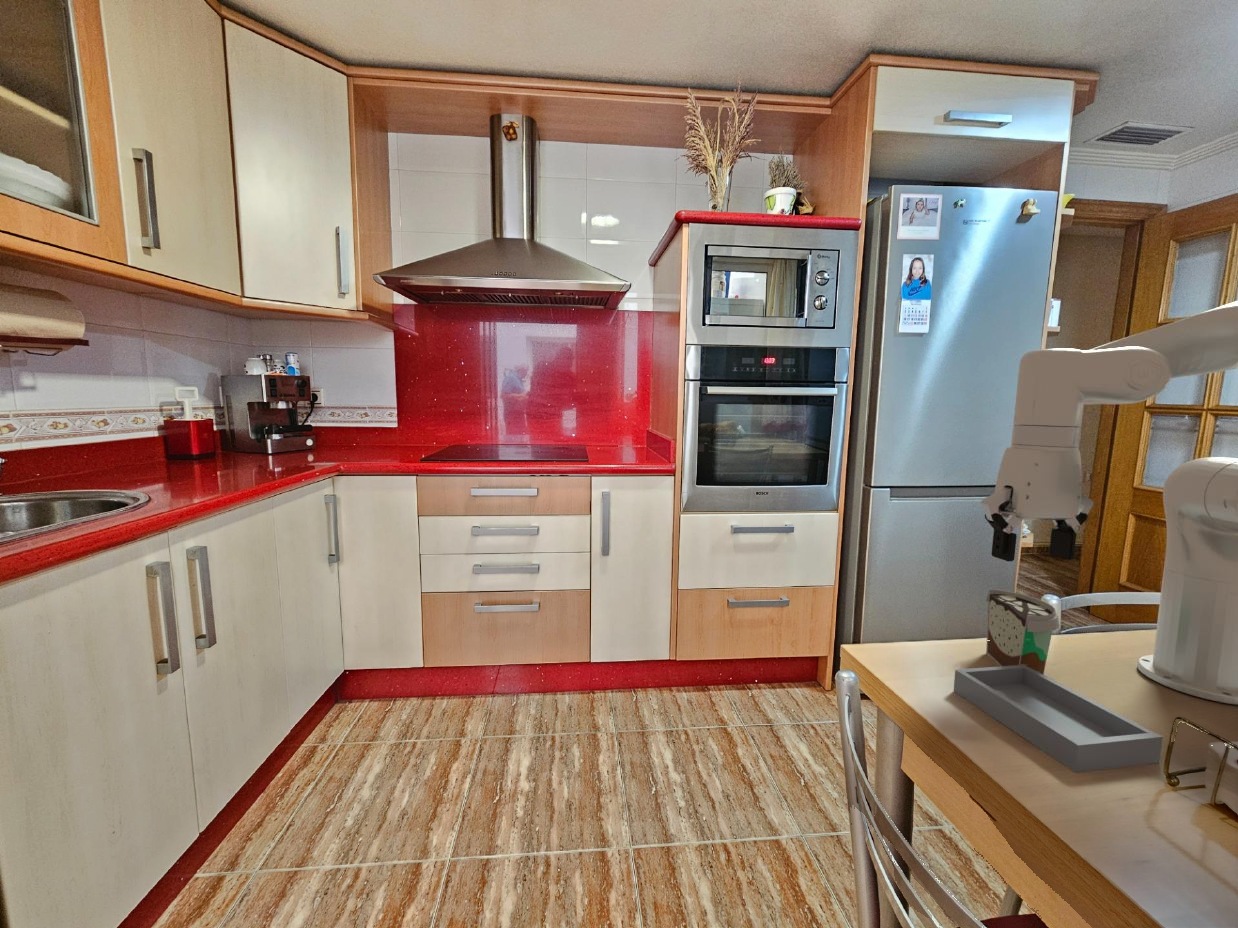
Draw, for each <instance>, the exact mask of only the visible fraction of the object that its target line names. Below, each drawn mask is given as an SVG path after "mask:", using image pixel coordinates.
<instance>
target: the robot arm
mask: <svg viewBox="0 0 1238 928" xmlns="http://www.w3.org/2000/svg"><path fill="white" fill-rule="evenodd" d="M1235 369H1238V300H1236V301H1232V302H1230V303H1227V304H1223V305H1221V306H1217V307H1215V308H1212V309H1209V310H1206V311H1202V312H1199V313H1196V314H1192V315H1190V316H1187V317H1185V318H1182V319H1179V320H1176V321H1173V322H1170V323H1167V324H1163V325H1162V326H1161V325H1160V326H1158V327H1153V328H1152V329H1148V330H1145V331H1142V332H1139V333H1135V334H1133V335H1128V336H1126V337H1122V338H1120V339H1116V340H1114V341H1110V342H1107V343H1105V344H1102V345H1099V346H1096V347H1093V348H1090V349H1087V350H1082V349H1077V348H1063V347H1061V348H1059V347H1057V348H1042V349H1034V350H1031V351H1028V352H1026V353H1024V354H1023V355H1022V356H1021V358H1020V361H1019V366H1018V375H1017V385H1016V395H1015V405H1014V416H1013V424H1012V425H1013V426H1012V434H1011V443H1010V444H1011V445H1010V446H1009V447H1006V448H1005V450H1004V452H1003V455H1002V458H1001V462H1000V465H999V468H998V472H997V477H996V481H995V482H996V484H995V488H994V493H991V494H990V495H989V496H987V497H985V498H983V499H982V500H981V502H980V504H981V508H982V511H983V513H984V519H985V520H986V521H987V522H988V524H989V528H990V529H991V530H993V535H992V543H991V544H992V545H991V556H992V557H994V558H995V559H996V558H997V559H999V560H1002V561H1006V562H1014V561H1015V557H1016V556H1015V554H1016V545H1017V538H1018V537H1017V533H1014V531H1015V529H1016V528H1017V527H1018V526H1019V524H1021V523H1022V521H1023V520H1024V521H1052V523H1053V524H1054V526H1055V527H1052V528H1051V533H1050V542H1049V550H1048V551H1049V552H1048V553H1049V555H1050V556H1053V557H1056V558H1058V559H1059V558H1060V559H1062V560H1066V561H1073V560H1074V557H1075V549H1076V541H1077V533H1080V532H1081V531H1082V525H1083V524H1084V523H1085V522H1086V521H1087V520H1088V518H1089V517H1088V515H1089V514H1090V511H1091V510H1092V508H1093V507H1094V503H1095V502H1094V501H1093V500H1092V499H1090V498H1089V497H1087V496H1086V495H1084V494H1083V493H1082V485H1083V484H1082V483H1083V482H1082V479H1083V476H1082V475H1083V474H1082V473H1083V472H1082V457H1081V451H1080V449H1079V448H1080V444H1081V443H1080V442H1081V438H1082V422H1083V416H1084V415H1083V414H1084V407H1085V405H1129V404H1130V405H1131V404H1137V403H1141V402H1145V401H1148V400H1150V399H1153V398H1155V397H1156V396H1157V395H1159V394H1161V393H1162V392H1163V391H1164V390H1165V389H1166V388H1167V386H1168V385H1169V383H1170V381H1171V379H1176V378H1183V377H1190V376H1198V375H1199V376H1200V375H1208V374H1214V373H1221V372H1227V371H1231V370H1235ZM1163 485H1164V486H1163V491H1162V502H1163V509H1164V515H1165V516H1164V517H1165V523H1166V547H1165V556H1164V557H1165V559H1164V564H1163V565H1164V566H1163V570H1162V571H1163V572H1162V581H1161V586H1160V587H1161V588H1160V597H1159V605H1158V614H1157V622H1156V623H1157V624H1156V633H1155V641H1154V649H1153V654H1149V655H1148V654H1147V655H1143V656H1140V657H1139V658H1138V659H1137V666H1136V667H1137V668H1138V670H1139V671H1140V672H1141V674H1143V675H1144V676H1146V677H1147V678H1149V679H1151V680H1153V681H1155V682H1156V683H1158V684H1161V685H1162V686H1165V687H1168V688H1170V689H1173V690H1175V691H1179V692H1180V693H1183V694H1187V695H1191V696H1195V697H1196V698H1197V697H1198V698H1200V699H1204V700H1210V701H1213V702H1216V703H1217V702H1218V703H1224V704H1229V705H1230V704H1231V705H1236V706H1238V458H1236V457H1228V456H1227V457H1226V456H1208V457H1200V458H1196V459H1191V460H1189V461H1185V463H1181V464H1180V465H1179V466H1177V467H1176V468H1175V469H1173V470H1172V471H1171V472H1170V474H1169V475H1168V476H1167V477H1166V480H1165V482H1164V484H1163ZM1007 519H1008V520H1007Z"/></svg>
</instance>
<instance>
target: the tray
mask: <svg viewBox="0 0 1238 928" xmlns="http://www.w3.org/2000/svg"><path fill="white" fill-rule="evenodd" d="M953 683H954V684H953V692H955V693H956V694H957V695H959V696H961V697H962V698H963V699H965V700H966V701H968V702H969V703H971V704H972V705H974V706H975V707H977V708H978V709H980V710H981V711H983V712H984V713H986V714H987V715H989V716H990V717H992V718H993V719H994V720H996V721H998V722H999V723H1001V724H1002V725H1004V726H1005V727H1007V728H1008V729H1010V730H1011V731H1013V732H1014V733H1016V735H1019V736H1020V737H1022V738H1024V739H1025V740H1026V741H1028V742H1029V743H1031V744H1032V745H1034V746H1035V747H1036V748H1038V749H1040V750H1041V751H1043V752H1044V753H1045V754H1047V755H1048V756H1050V757H1052V758H1053V759H1055V760H1056V761H1058V762H1059V763H1061V765H1064V767H1067V768H1068V769H1070V770H1071V771H1073V772H1074V773H1082V772H1083V773H1084V772H1092V771H1101V770H1102V771H1103V770H1109V769H1121V768H1127V767H1137V766H1138V767H1139V766H1146V765H1155V764H1160V763H1161V762H1160V761H1161V753H1162V752H1161V751H1162V744H1163V736H1162V735H1160V734H1158V733H1156V732H1154V731H1152V730H1151V729H1149V728H1147V727H1145V726H1143V725H1141V724H1139V723H1137V722H1135V721H1133V720H1131V719H1130V718H1128V717H1125V716H1123V715H1121V714H1119V713H1118V712H1116V711H1113V710H1112V709H1110V708H1108V707H1106V706H1104V705H1102V704H1100V703H1099V702H1097V701H1095V700H1093V699H1091V698H1089V697H1087V696H1085V695H1083V694H1082V693H1080V692H1077V691H1076V690H1073V689H1072V688H1070V687H1068V686H1066V685H1064V684H1062V683H1061V682H1058V681H1057V680H1055V679H1053V678H1050V677H1049V676H1047V675H1044V674H1041V673H1039V672H1037V671H1035V670H1033V669H1031V668H1029V667H1027V666H1026V665H1013V666H999V665H998V666H989V667H988V666H986V667H976V668H975V667H974V668H973V667H971V668H958V669H957V668H956V669H954V681H953Z"/></svg>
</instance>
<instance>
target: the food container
mask: <svg viewBox="0 0 1238 928" xmlns="http://www.w3.org/2000/svg"><path fill="white" fill-rule="evenodd" d="M986 602H987V622H986V625H987V626H986V629H987V630H986V649H985V650H986V651H985V652H986V655H988V657H990V658H991V659H992V660H993V661H994V662H995V663H996V664H997V665H998V667H999V666H1013V665H1026V666H1027V667H1029V668H1031V669H1033V670H1035V671H1037V672H1039V673H1041V674H1043V675H1044V673H1045V669H1046V664H1047V661H1048V660H1047V659H1048V653H1049V650H1050V646H1051V639H1052V635H1053V631H1057V630H1058V629H1059V628H1060V627H1061V626H1060V620H1059V615H1058V613H1057V611H1056V608H1055V607H1054V606H1053V605H1051V604H1050V603H1048V602H1046V601H1044V600H1042V599H1039V598H1036V597H1033V596H1030V595H1027V594H1022V593H1018V592H1012V591H1008V590H1003V589H1002V590H1001V589H993V588H988V592H987V596H986ZM987 640H990V641H987Z"/></svg>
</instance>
